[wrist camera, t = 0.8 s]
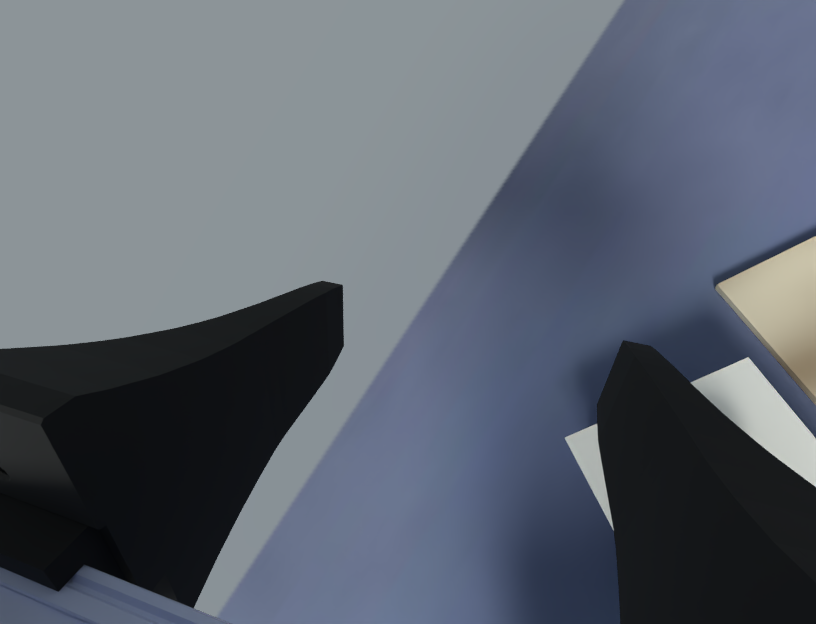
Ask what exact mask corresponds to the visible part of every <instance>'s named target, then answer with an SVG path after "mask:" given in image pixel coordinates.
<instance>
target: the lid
mask: <svg viewBox="0 0 816 624" xmlns="http://www.w3.org/2000/svg"><path fill="white" fill-rule="evenodd" d="M690 383H691V384H692V385H693V386H694V387H695V388H697V389H698V390H699V391H700V392H701V393H702V394H703V395H704V396H705V397H706V398H707V399H708V400H709V401H710V402H711V403H713V404H714V405H715V406H716V407H717V408H718V409H719V410H720V411H721V412H722V413H724V414H725V415H726V416H727V417H728V418H729V419H730V420H731V421H733V422H734V423H735V424H736V425H737V426H738V427H740V428H741V429H742V430H743V431H744V432H746V433H747V434H748V435H749V436H750V437H751V438H753V439H754V440H755V441H756V442H757V443H759V444H760V445H761V446H762V447H764V448H765V449H766V450H767V451H769V452H770V453H771V454H772V455H774V456H775V457H776V458H778V459H779V460H780V461H782V462H783V463H784V464H786V465H787V466H788V467H790V468H791V469H792V470H794V471H795V472H796V473H798V474H799V475H800V476H802V477H803V478H804V479H806V480H807V481H808V482H810V483H811V484H812V485H814V486H815V487H816V438H815V437H814V436H813V434H812V433H811V432H810V431H809V430H808V428H807V427H806V426H805V425H804V424H803V422H802V421H801V420H800V419H799V418H798V416H797V415H796V414H795V413H794V412H793V410H792V409H791V408H790V407H789V406H788V404H787V403H786V402H785V401H784V400H783V398H782V397H781V396H780V395H779V393H778V392H777V391H776V390H775V389H774V387H773V386H772V385H771V384H770V383H769V381H768V380H767V379H766V378H765V377H764V375H763V374H762V373H761V372H760V371H759V369H758V368H757V367H756V366H755V365H754V363H753V362H752V361H751V360H750V359H749V357H747V358H745V359H743V360H741V361H738V362H736V363H734V364H732V365H729V366H727V367H725V368H722V369H720V370H718V371H716V372H713V373H711V374H709V375H706V376H704V377H702V378H700V379H697V380H695V381H693V382H690ZM565 440H566V442H567V444H568V445H569V447H570V449H571V451H572V453H573V455H574V457H575V459H576V461H577V462H578V464H579V466H580V468H581V470H582V472H583V474H584V476H585V478H586V479H587V481H588V483H589V485H590V487H591V489H592V491H593V493H594V495H595V496H596V498H597V500H598V502H599V504H600V506H601V508H602V510H603V512H604V513H605V515H606V517H607V519H608V521H609V523H610V525H611V527H612V529H613V523H612V518H611V512H610V507H609V501H608V496H607V490H606V484H605V479H604V473H603V468H602V462H601V456H600V450H599V444H598V428H597V424H595V425H592V426H590V427H588V428H586V429H583V430H581V431H579V432H576V433H574V434H572V435H570V436H567V437H565ZM613 530H614V529H613Z"/></svg>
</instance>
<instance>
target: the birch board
mask: <svg viewBox="0 0 816 624" xmlns="http://www.w3.org/2000/svg"><path fill="white" fill-rule="evenodd" d="M715 289H716V291H717V292H718V293H719V294H720V295H721V296H722V298H723V299H724V300H725V301H726V302H727V303H728V304H729V306H730V307H731V308H732V309H733V310H734V311H735V313H736V314H737V315H738V316H739V317H740V318H741V319H742V321H743V322H744V323H745V324H746V325H747V326H748V328H749V329H750V330H751V331H752V332H753V333H754V335H755V336H756V337H757V338H758V339H759V340H760V341H761V343H762V344H763V345H764V346H765V347H766V348H767V350H768V351H769V352H770V353H771V354H772V355H773V357H774V358H775V359H776V360H777V361H778V362H779V363H780V365H781V366H782V367H783V368H784V369H785V370H786V372H787V373H788V374H789V375H790V376H791V377H792V378H793V380H794V381H795V382H796V383H797V384H798V385H799V387H800V388H801V389H802V390H803V391H804V392H805V394H806V395H807V396H808V397H809V398H810V399H811V400H812V402H813V403H814V404H815V405H816V236H815V237H813V238H811V239H809V240H807V241H805V242H802V243H800V244H798V245H796V246H794V247H792V248H790V249H788V250H786V251H784V252H782V253H780V254H778V255H776V256H774V257H772V258H770V259H768V260H766V261H764V262H762V263H760V264H758V265H756V266H754V267H752V268H749V269H747V270H745V271H743V272H741V273H739V274H737V275H735V276H733V277H731V278H729V279H727V280H725V281H723V282H721V283H719V284H717V285H716V288H715Z"/></svg>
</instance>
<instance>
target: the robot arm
mask: <svg viewBox="0 0 816 624" xmlns="http://www.w3.org/2000/svg"><path fill="white" fill-rule="evenodd" d="M343 337H344V336H343V286H342V285H340V284H335V283H330V282H325V281H321V282H316V283H313V284H310V285H307V286H304V287H301V288H298V289H296V290H293V291H291V292H288V293H285V294H283V295H280V296H277V297H275V298H272V299H269V300H267V301H264V302H261V303H259V304H256V305H253V306H250V307H247V308H244V309H241V310H238V311H235V312H232V313H229V314H226V315H223V316H220V317H217V318H213V319H210V320H206V321H203V322H199V323H195V324H191V325H187V326H183V327H179V328H174V329H170V330H164V331H159V332H154V333H149V334H143V335H137V336H132V337H126V338H120V339H113V340H105V341H97V342H88V343H79V344H69V345H58V346H43V347H27V348H11V349H0V624H231V623H229V622H226V621H224V620H221V619H219V618H216V617H214V616H211V615H209V614H206V613H204V612H201V611H199V610H196V609H194V606H195V604H196V602H197V600H198V597H199V595H200V593H201V591H202V589H203V587H204V585H205V583H206V580H207V578H208V576H209V574H210V572H211V570H212V568H213V565H214V563H215V561H216V559H217V557H218V555H219V553H220V551H221V549H222V547H223V545H224V543H225V541H226V539H227V537H228V535H229V533H230V531H231V529H232V527H233V525H234V523H235V521H236V520H237V518H238V516H239V514H240V512H241V510H242V508H243V506H244V504H245V503H246V501H247V499H248V497H249V495H250V493H251V491H252V490H253V488H254V486H255V484H256V482H257V481H258V479H259V477H260V475H261V474H262V472H263V470H264V468H265V467H266V465H267V463H268V461H269V460H270V458H271V456H272V455H273V453H274V451H275V449H276V448H277V446H278V445H279V443H280V442H281V440H282V438H283V437H284V436H285V434H286V433H287V431H288V430H289V429H290V427H291V426H292V425H293V423H294V422H295V420H296V419H297V418H298V416H299V415H300V414H301V412H302V411H303V410H304V408H305V407H306V406H307V404H308V403H309V402H310V400H311V399H312V397H313V396H314V395H315V393H316V392H317V390H318V389H319V388H320V386H321V385H322V384H323V382H324V381H325V379H326V377H327V376H328V375H329V373H330V371H331V370H332V368H333V366H334V364H335V362H336V360H337V358H338V356H339V354H340V352H341V350H342V348H343V346H344V338H343ZM597 428H598V444H599V450H600V456H601V462H602V468H603V473H604V479H605V484H606V490H607V496H608V501H609V507H610V512H611V518H612V523H613V529H614V537H615V544H616V555H617V570H618V584H619V601H620V623H621V624H816V487H815V486H814V485H812V484H811V483H810V482H808V481H807V480H806V479H804V478H803V477H802V476H800V475H799V474H798V473H796V472H795V471H794V470H792V469H791V468H790V467H788V466H787V465H786V464H784V463H783V462H782V461H780V460H779V459H778V458H776V457H775V456H774V455H772V454H771V453H770V452H769V451H767V450H766V449H765V448H764V447H762V446H761V445H760V444H759V443H757V442H756V441H755V440H754V439H753V438H751V437H750V436H749V435H748V434H747V433H746V432H744V431H743V430H742V429H741V428H740V427H738V426H737V425H736V424H735V423H734V422H733V421H731V420H730V419H729V418H728V417H727V416H726V415H725V414H724V413H722V412H721V411H720V410H719V409H718V408H717V407H716V406H715V405H714V404H713V403H711V402H710V401H709V400H708V399H707V398H706V397H705V396H704V395H703V394H702V393H701V392H700V391H699V390H698V389H697V388H695V387H694V386H693V385H692V384H691V383H690V382H689V381H688V380H687V379H686V378H685V377H684V376H683V375H682V374H681V373H680V372H679V371H678V370H677V369H676V368H675V367H674V366H673V365H672V364H671V363H670V362H668V361H667V360H666V359H665V358H664V357H663V356H662V355H661V354H660V353H659V352H658V351H656V350H655V349H654V348H653V347H651V346H648V345H643V344H638V343H633V342H628V341H623V342H622V344H621V347H620V349H619V352H618V354H617V357H616V359H615V362H614V364H613V366H612V369H611V371H610V374H609V376H608V379H607V381H606V384H605V386H604V389H603V391H602V394H601V396H600V398H599V401H598V403H597Z"/></svg>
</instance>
